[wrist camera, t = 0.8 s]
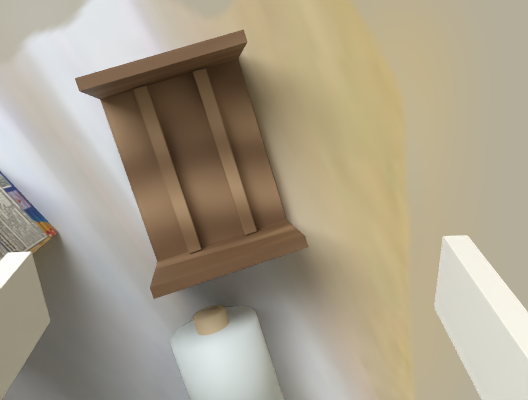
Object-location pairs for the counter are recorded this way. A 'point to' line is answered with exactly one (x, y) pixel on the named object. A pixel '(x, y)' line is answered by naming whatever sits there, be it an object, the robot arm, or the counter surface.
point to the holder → (195, 161)
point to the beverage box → (20, 222)
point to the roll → (225, 356)
